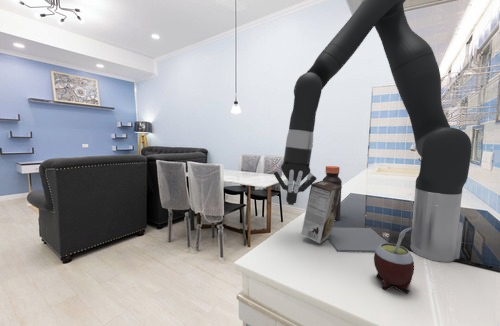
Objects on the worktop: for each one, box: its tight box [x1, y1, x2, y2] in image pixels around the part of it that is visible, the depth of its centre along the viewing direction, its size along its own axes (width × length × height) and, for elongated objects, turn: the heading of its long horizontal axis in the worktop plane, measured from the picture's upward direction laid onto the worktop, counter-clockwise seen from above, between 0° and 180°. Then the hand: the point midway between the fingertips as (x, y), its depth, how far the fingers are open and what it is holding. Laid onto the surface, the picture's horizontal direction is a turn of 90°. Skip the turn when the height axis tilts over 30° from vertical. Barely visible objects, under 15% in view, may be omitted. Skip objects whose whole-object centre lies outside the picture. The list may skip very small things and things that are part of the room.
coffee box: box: [301, 180, 343, 244], centre depth 66 cm, size 9×6×16 cm
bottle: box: [322, 165, 343, 221], centre depth 83 cm, size 7×7×20 cm
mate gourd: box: [373, 226, 415, 295], centre depth 45 cm, size 8×8×15 cm
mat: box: [328, 226, 389, 254], centre depth 67 cm, size 16×15×1 cm
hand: (290, 204), depth 66 cm, fingers closed
